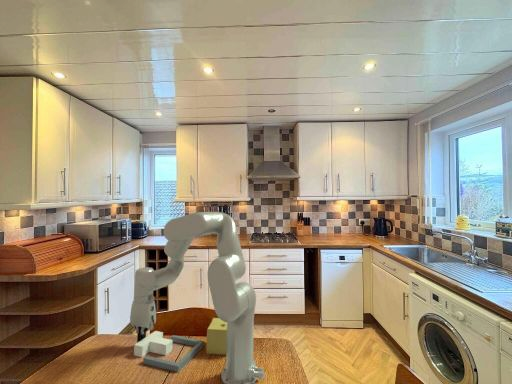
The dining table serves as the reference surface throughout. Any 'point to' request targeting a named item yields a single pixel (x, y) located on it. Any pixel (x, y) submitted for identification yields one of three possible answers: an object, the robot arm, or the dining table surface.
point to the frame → (183, 361)
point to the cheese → (216, 337)
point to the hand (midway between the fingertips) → (141, 342)
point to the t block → (153, 345)
